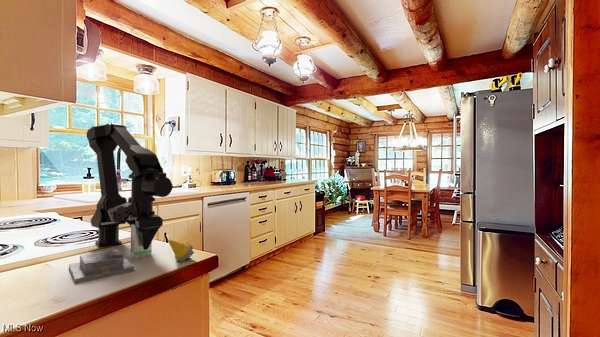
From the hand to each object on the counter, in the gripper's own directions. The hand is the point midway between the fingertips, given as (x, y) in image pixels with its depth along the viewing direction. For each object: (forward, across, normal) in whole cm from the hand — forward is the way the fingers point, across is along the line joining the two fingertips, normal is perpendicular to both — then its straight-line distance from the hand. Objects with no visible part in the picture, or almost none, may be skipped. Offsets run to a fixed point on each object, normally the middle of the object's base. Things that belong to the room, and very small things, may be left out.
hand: (141, 245), depth 86 cm
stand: (+2, +7, -11) cm, 13 cm away
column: (+3, 0, 0) cm, 3 cm away
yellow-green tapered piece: (+3, +13, +7) cm, 15 cm away
